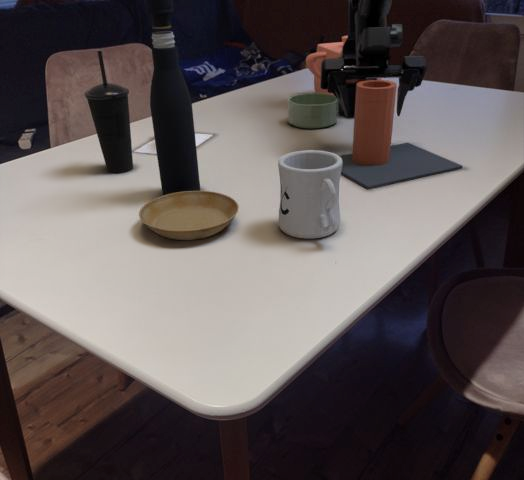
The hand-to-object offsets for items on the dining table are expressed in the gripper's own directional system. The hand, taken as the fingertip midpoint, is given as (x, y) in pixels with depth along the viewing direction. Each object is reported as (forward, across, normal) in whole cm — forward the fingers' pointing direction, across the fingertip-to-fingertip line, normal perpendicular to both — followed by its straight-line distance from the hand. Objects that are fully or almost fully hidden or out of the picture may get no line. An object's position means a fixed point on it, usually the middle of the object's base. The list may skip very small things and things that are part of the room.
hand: (373, 115), depth 106 cm
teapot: (-26, 0, +37) cm, 45 cm away
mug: (+28, -12, -17) cm, 35 cm away
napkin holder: (-3, -39, +14) cm, 42 cm away
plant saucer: (+26, -30, -15) cm, 43 cm away
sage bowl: (-12, -10, +23) cm, 28 cm away
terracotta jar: (+7, 0, +3) cm, 8 cm away
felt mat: (+8, +3, +2) cm, 9 cm away
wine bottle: (+17, -34, -6) cm, 38 cm away
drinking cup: (+8, -47, +3) cm, 48 cm away
